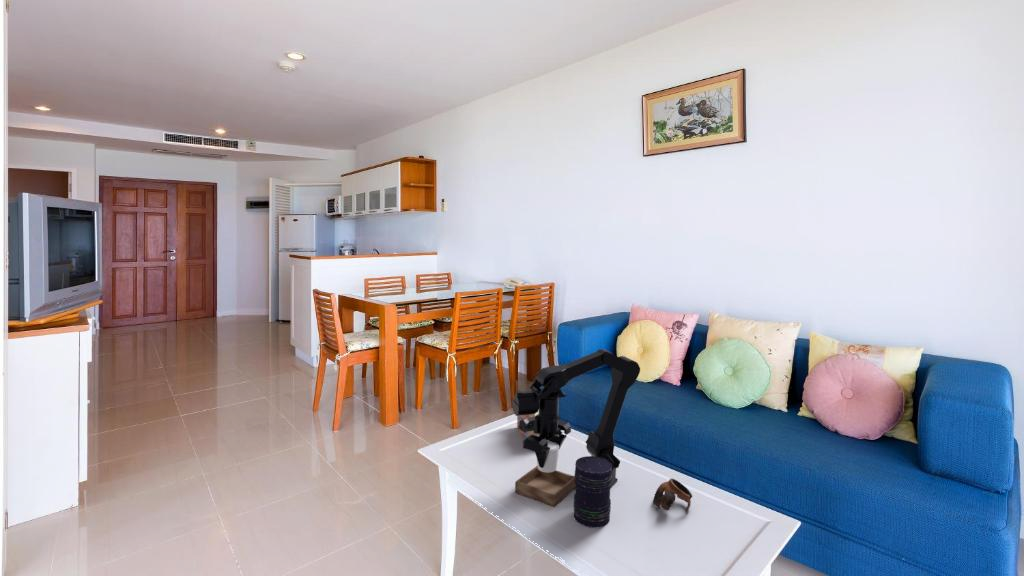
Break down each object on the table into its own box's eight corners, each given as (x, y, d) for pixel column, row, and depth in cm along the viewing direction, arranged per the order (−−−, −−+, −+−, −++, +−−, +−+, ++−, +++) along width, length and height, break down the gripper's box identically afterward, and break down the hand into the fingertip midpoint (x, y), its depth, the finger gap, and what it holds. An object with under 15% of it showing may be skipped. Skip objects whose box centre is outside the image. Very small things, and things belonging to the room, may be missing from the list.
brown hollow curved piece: (654, 495, 147) (670, 473, 146) (682, 518, 142) (698, 496, 141) (644, 503, 136) (661, 479, 135) (673, 529, 132) (691, 504, 131)
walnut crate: (576, 487, 149) (576, 476, 148) (554, 507, 138) (555, 495, 137) (538, 475, 156) (538, 464, 156) (515, 492, 145) (515, 481, 145)
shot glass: (555, 475, 142) (556, 451, 141) (532, 471, 144) (533, 448, 143) (560, 464, 148) (561, 442, 148) (538, 461, 150) (539, 439, 150)
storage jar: (617, 517, 134) (619, 464, 132) (597, 532, 126) (599, 477, 125) (586, 503, 140) (588, 452, 139) (565, 517, 133) (567, 464, 131)
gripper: (540, 398, 156) (539, 445, 158) (507, 415, 141) (506, 467, 143) (572, 405, 150) (571, 454, 152) (541, 424, 135) (540, 478, 137)
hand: (547, 463), depth 146 cm, fingers closed on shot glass, 6 cm apart
